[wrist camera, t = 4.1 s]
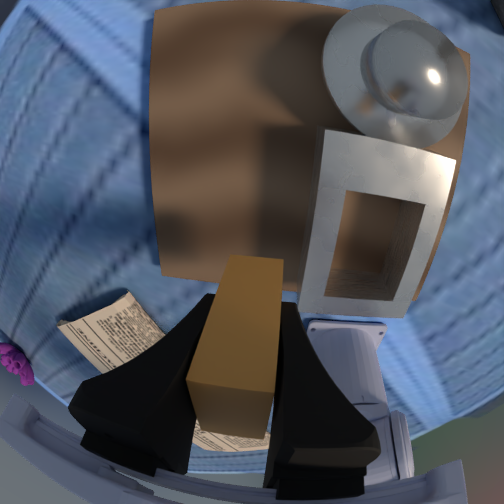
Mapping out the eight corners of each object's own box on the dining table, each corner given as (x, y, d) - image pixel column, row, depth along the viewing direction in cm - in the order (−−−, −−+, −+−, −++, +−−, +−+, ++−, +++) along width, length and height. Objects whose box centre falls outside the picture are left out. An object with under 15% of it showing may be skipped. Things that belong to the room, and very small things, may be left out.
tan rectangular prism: (276, 321, 15) (263, 439, 9) (231, 316, 15) (201, 430, 9) (283, 259, 13) (274, 392, 7) (230, 254, 13) (185, 379, 7)
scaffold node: (393, 289, 20) (416, 343, 15) (292, 280, 21) (292, 338, 16) (441, 42, 10) (491, 29, 5) (319, 7, 11) (333, -34, 6)
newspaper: (279, 436, 41) (278, 449, 38) (194, 439, 47) (191, 450, 44) (133, 285, 26) (121, 302, 24) (57, 320, 32) (47, 332, 30)
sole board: (410, 290, 22) (415, 300, 21) (168, 265, 24) (161, 275, 22) (459, 55, 11) (470, 54, 10) (163, 15, 13) (154, 10, 12)
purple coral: (17, 342, 47) (-12, 344, 39) (32, 335, 42) (-3, 337, 34) (28, 384, 45) (-1, 389, 36) (45, 385, 40) (10, 392, 31)
